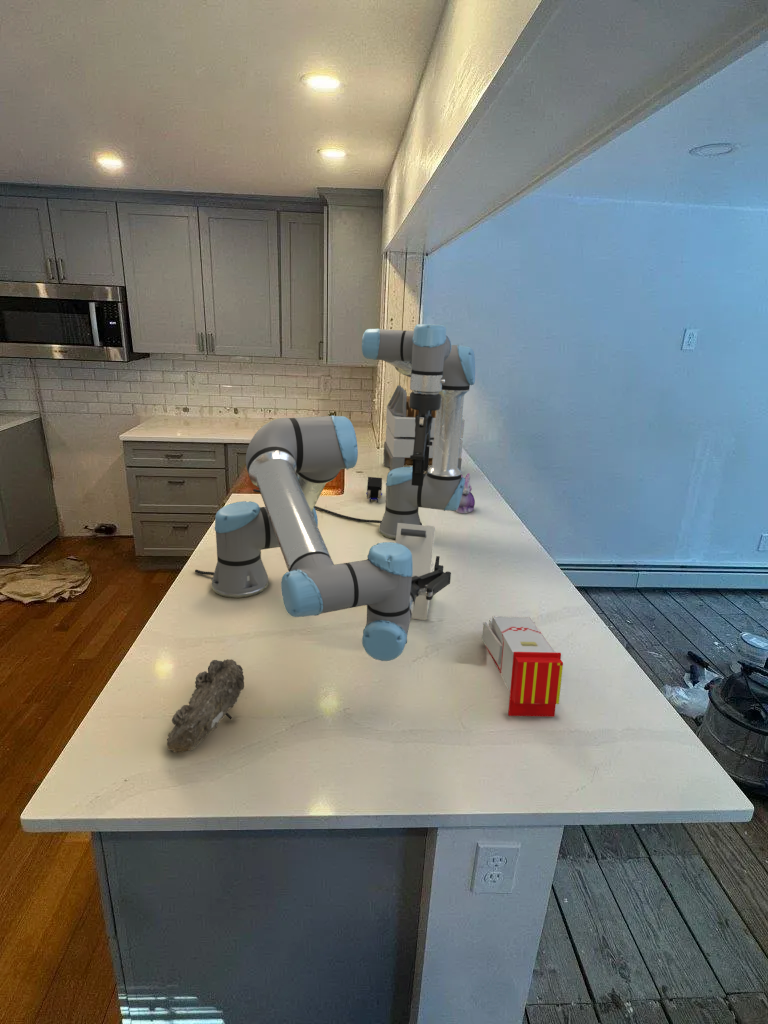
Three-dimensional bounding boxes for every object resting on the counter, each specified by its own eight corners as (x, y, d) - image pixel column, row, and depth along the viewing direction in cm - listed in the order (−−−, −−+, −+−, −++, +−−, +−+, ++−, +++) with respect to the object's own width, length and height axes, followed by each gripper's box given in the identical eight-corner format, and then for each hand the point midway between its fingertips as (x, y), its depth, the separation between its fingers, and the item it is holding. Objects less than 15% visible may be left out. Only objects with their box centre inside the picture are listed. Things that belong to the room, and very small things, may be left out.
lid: (397, 523, 145) (394, 519, 137) (435, 526, 144) (433, 523, 136) (391, 581, 143) (388, 580, 136) (429, 585, 142) (427, 585, 134)
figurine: (461, 515, 220) (465, 478, 215) (447, 507, 229) (450, 471, 224) (481, 512, 224) (485, 476, 219) (466, 504, 233) (469, 469, 228)
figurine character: (382, 507, 229) (381, 492, 243) (383, 490, 226) (382, 475, 239) (365, 506, 229) (366, 491, 242) (366, 489, 226) (366, 475, 239)
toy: (528, 601, 136) (572, 659, 107) (523, 653, 139) (565, 722, 110) (478, 600, 136) (508, 657, 107) (474, 652, 139) (503, 722, 109)
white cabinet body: (397, 591, 159) (398, 560, 156) (430, 595, 158) (433, 564, 155) (389, 616, 146) (391, 582, 143) (426, 620, 145) (429, 587, 142)
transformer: (382, 463, 289) (386, 382, 275) (445, 464, 293) (451, 384, 279) (390, 482, 257) (394, 392, 243) (460, 483, 261) (468, 394, 247)
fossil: (192, 660, 117) (244, 628, 112) (224, 691, 120) (276, 661, 115) (142, 746, 98) (202, 712, 93) (182, 779, 101) (242, 748, 96)
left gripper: (332, 612, 113) (354, 567, 133) (457, 627, 110) (461, 579, 129) (332, 578, 110) (354, 537, 130) (461, 592, 107) (464, 548, 127)
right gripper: (437, 400, 123) (430, 493, 130) (444, 386, 146) (438, 466, 154) (403, 398, 124) (398, 490, 131) (415, 384, 147) (410, 463, 155)
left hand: (407, 558), depth 130 cm, fingers open, 13 cm apart
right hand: (420, 477), depth 142 cm, fingers open, 13 cm apart
